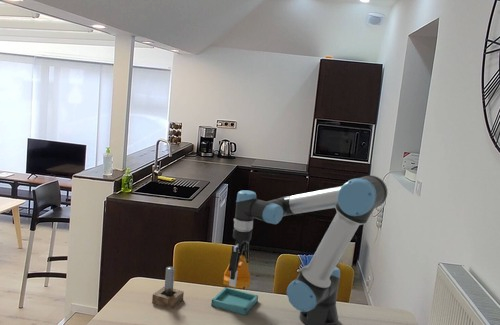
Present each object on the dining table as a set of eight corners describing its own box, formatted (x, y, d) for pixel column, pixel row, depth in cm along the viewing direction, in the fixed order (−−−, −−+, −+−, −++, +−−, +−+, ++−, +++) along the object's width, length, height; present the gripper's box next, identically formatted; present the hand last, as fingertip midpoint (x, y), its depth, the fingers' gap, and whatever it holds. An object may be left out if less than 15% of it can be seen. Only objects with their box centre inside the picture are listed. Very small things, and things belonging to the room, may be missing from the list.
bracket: (223, 286, 183) (225, 258, 181) (223, 279, 190) (226, 251, 188) (249, 289, 183) (252, 260, 181) (249, 281, 190) (252, 254, 188)
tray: (257, 301, 192) (258, 295, 191) (245, 315, 179) (246, 309, 178) (225, 292, 197) (225, 286, 196) (211, 305, 184) (211, 299, 183)
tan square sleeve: (183, 299, 186) (183, 291, 186) (171, 308, 178) (172, 300, 177) (163, 294, 189) (164, 286, 189) (152, 302, 181) (152, 294, 180)
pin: (173, 300, 184) (176, 267, 182) (169, 303, 181) (172, 270, 179) (166, 298, 186) (168, 265, 183) (161, 301, 182) (164, 268, 180)
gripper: (243, 220, 194) (238, 270, 197) (223, 234, 174) (217, 289, 177) (260, 224, 191) (254, 274, 195) (241, 238, 171) (235, 294, 175)
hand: (236, 281), depth 186 cm, fingers closed on bracket, 9 cm apart
